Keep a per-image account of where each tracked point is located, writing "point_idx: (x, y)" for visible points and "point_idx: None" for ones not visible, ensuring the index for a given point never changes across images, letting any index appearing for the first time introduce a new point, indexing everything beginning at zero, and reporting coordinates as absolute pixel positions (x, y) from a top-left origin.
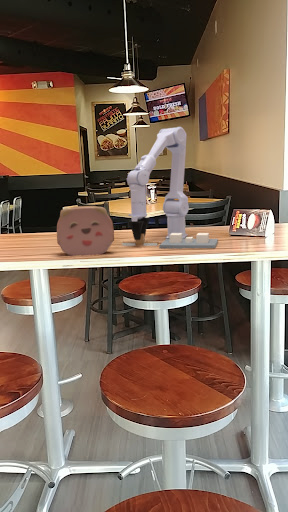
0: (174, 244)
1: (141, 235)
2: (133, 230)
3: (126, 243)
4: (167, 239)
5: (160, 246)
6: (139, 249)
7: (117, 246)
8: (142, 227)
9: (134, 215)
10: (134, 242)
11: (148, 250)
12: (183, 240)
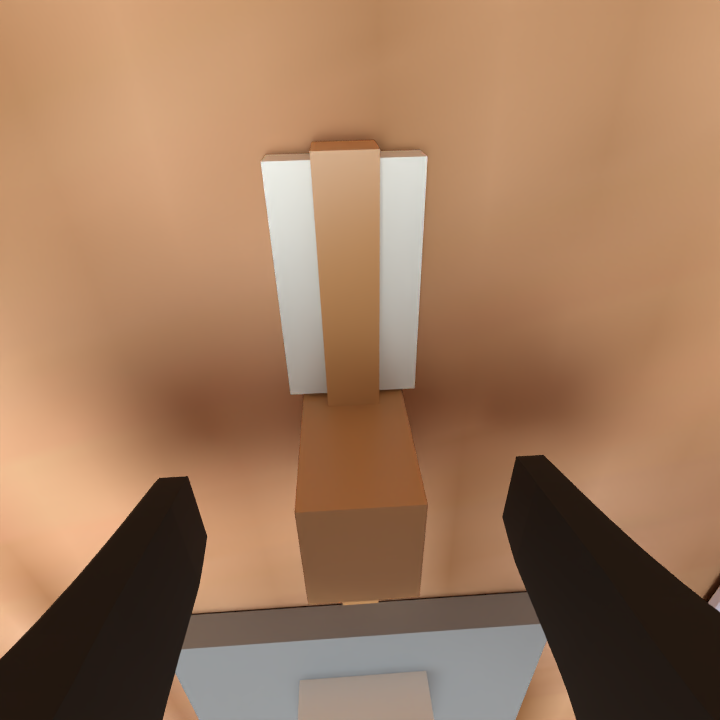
0: (231, 711)
1: (307, 574)
2: (39, 666)
3: (279, 252)
4: (506, 635)
5: None
6: (37, 492)
7: (136, 78)
8: (592, 665)
9: None
10: (324, 381)
11: (29, 572)
12: (435, 714)
